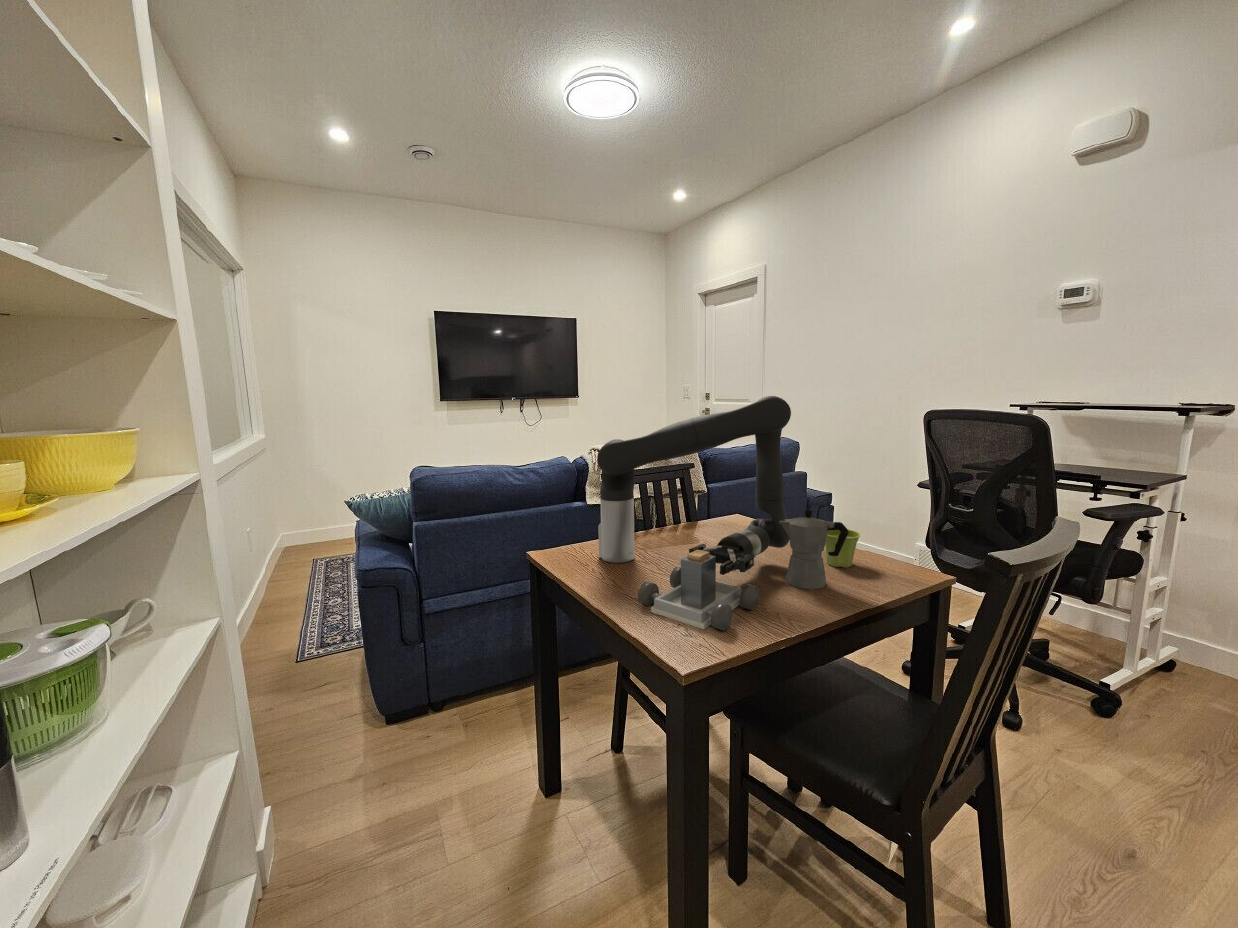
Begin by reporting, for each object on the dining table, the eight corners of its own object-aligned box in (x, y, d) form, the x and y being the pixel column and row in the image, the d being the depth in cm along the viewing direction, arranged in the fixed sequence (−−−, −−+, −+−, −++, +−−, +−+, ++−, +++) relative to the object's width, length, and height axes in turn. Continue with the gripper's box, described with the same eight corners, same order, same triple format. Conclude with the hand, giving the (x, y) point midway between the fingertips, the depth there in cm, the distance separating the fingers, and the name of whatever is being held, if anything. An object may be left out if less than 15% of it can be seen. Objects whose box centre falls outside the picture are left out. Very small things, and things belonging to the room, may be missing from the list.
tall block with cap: (680, 603, 111) (680, 554, 109) (695, 594, 115) (696, 547, 113) (701, 609, 107) (701, 559, 106) (715, 600, 112) (715, 551, 110)
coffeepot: (774, 585, 122) (776, 511, 120) (780, 572, 131) (782, 503, 128) (845, 595, 116) (848, 517, 113) (846, 581, 124) (849, 508, 122)
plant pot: (834, 556, 143) (835, 525, 141) (866, 565, 135) (868, 533, 133) (812, 562, 138) (814, 531, 136) (844, 572, 130) (846, 539, 128)
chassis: (638, 607, 111) (637, 585, 111) (681, 584, 124) (681, 564, 123) (719, 634, 98) (719, 609, 98) (759, 605, 111) (759, 583, 110)
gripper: (713, 528, 128) (677, 543, 116) (767, 538, 119) (733, 555, 107) (713, 557, 129) (677, 575, 117) (767, 569, 120) (733, 590, 108)
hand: (704, 566), depth 112 cm, fingers open, 8 cm apart
